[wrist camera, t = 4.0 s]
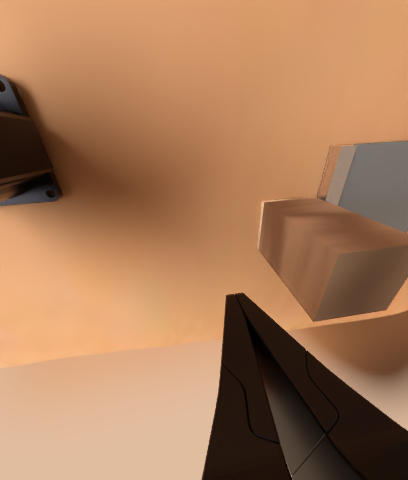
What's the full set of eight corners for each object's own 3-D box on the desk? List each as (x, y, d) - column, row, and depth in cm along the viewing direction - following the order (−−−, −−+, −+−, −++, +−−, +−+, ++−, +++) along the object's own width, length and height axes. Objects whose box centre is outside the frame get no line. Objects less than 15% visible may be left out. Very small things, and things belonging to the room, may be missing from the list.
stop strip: (297, 272, 19) (303, 278, 18) (330, 145, 13) (341, 146, 12) (307, 271, 19) (314, 277, 18) (345, 144, 13) (357, 145, 12)
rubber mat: (313, 270, 19) (315, 271, 19) (354, 144, 13) (356, 144, 13) (388, 260, 20) (390, 261, 20) (456, 137, 14) (460, 137, 14)
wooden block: (256, 247, 17) (313, 321, 10) (261, 200, 15) (339, 253, 8) (301, 242, 17) (386, 310, 10) (313, 196, 15) (430, 242, 8)
